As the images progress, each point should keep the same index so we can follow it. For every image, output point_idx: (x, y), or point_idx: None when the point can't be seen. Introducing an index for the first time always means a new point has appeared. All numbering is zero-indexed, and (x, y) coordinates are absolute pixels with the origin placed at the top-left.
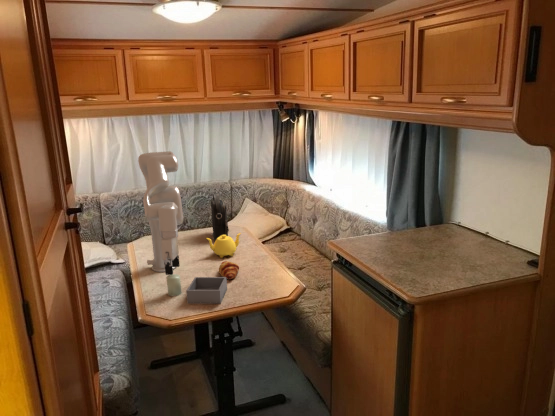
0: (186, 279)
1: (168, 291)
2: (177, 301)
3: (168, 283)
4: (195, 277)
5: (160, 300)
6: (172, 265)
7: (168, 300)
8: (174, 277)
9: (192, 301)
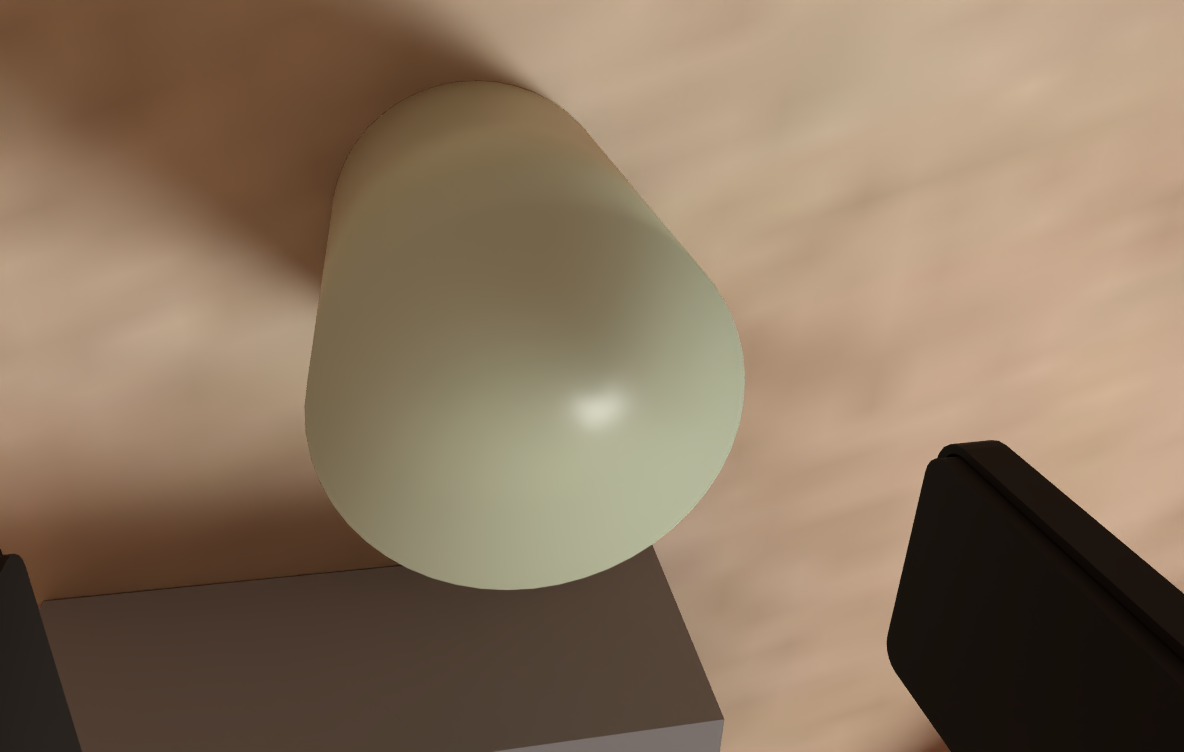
0: (1111, 248)
1: (369, 149)
2: (86, 408)
3: (336, 258)
4: (701, 734)
5: (43, 10)
6: (964, 484)
7: (90, 210)
8: (480, 470)
9: None
